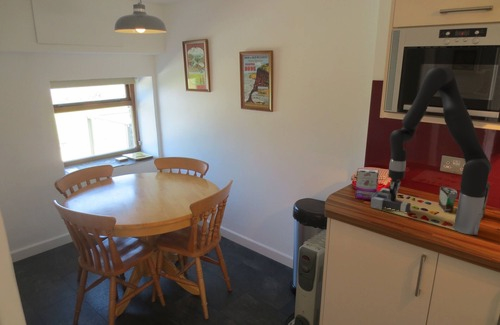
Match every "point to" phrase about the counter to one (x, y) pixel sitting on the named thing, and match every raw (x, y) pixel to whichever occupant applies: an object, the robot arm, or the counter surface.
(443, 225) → the counter surface
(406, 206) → the dark grey bar
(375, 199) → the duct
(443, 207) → the food container
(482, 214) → the coffee box
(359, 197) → the candy bar box
